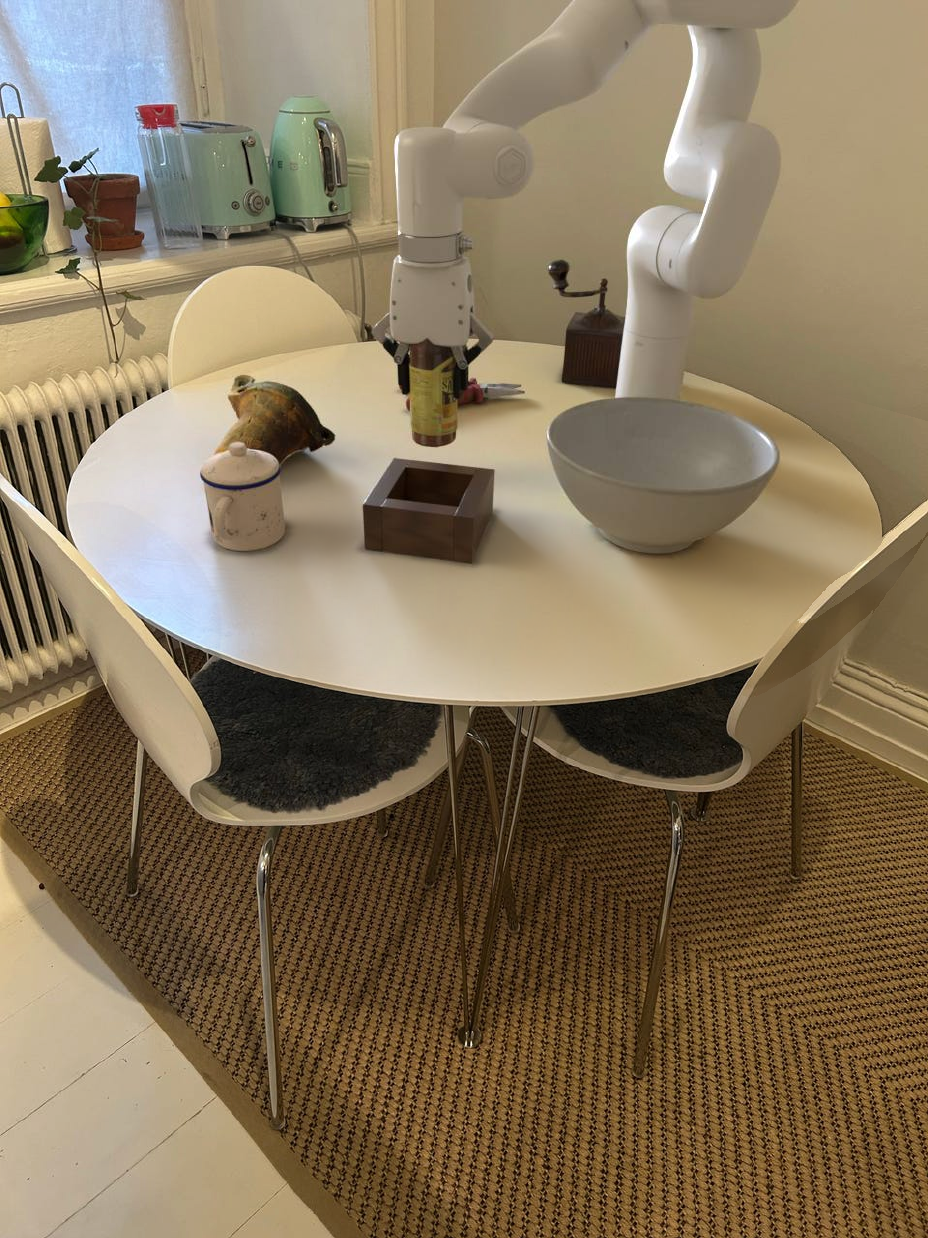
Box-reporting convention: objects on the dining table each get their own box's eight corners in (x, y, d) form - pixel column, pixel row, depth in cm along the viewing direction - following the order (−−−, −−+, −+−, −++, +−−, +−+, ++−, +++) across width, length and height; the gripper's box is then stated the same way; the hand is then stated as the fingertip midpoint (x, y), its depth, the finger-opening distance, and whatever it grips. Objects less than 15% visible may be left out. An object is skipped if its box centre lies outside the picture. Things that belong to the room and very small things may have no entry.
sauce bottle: (451, 451, 115) (451, 296, 103) (405, 447, 116) (399, 293, 104) (462, 431, 120) (462, 281, 108) (417, 427, 121) (413, 278, 109)
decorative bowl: (772, 506, 115) (794, 419, 108) (736, 610, 95) (760, 511, 88) (577, 466, 124) (586, 383, 117) (507, 553, 103) (512, 459, 96)
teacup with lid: (229, 512, 110) (216, 425, 103) (298, 520, 109) (289, 432, 102) (187, 561, 100) (169, 468, 94) (262, 570, 99) (249, 477, 92)
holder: (492, 512, 112) (494, 469, 108) (471, 563, 101) (473, 518, 98) (394, 500, 114) (393, 457, 110) (364, 549, 103) (362, 504, 100)
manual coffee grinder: (627, 368, 158) (641, 263, 147) (620, 389, 149) (634, 279, 138) (542, 359, 161) (550, 255, 150) (530, 379, 152) (538, 270, 141)
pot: (160, 420, 111) (240, 339, 120) (169, 476, 120) (242, 397, 130) (278, 482, 109) (349, 395, 119) (277, 533, 119) (343, 449, 128)
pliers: (530, 408, 141) (531, 393, 139) (406, 414, 137) (406, 398, 136) (514, 383, 150) (515, 368, 148) (398, 389, 147) (397, 373, 145)
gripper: (507, 243, 105) (503, 387, 115) (369, 236, 108) (378, 377, 118) (496, 258, 99) (493, 409, 109) (350, 250, 102) (361, 398, 112)
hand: (433, 391), depth 114 cm, fingers closed on sauce bottle, 6 cm apart
